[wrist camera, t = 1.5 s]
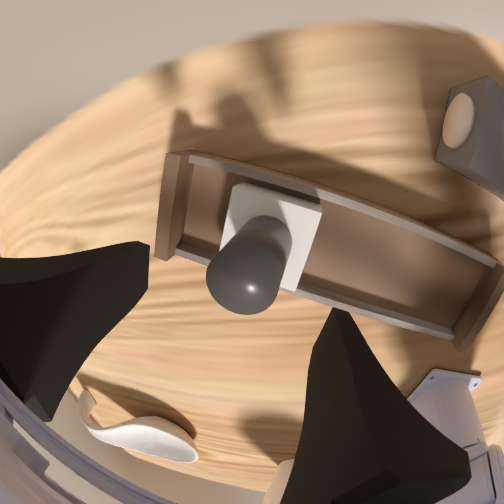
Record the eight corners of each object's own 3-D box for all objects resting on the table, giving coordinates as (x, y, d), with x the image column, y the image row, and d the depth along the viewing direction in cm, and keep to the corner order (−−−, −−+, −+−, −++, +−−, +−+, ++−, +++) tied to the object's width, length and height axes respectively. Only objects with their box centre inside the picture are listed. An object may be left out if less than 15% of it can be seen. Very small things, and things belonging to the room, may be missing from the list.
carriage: (298, 276, 18) (282, 346, 12) (226, 253, 19) (179, 309, 12) (322, 205, 16) (321, 247, 10) (242, 181, 17) (192, 207, 10)
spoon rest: (196, 416, 31) (175, 458, 25) (211, 453, 35) (197, 487, 29) (77, 374, 37) (54, 399, 31) (103, 414, 41) (85, 438, 35)
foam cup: (324, 478, 32) (313, 543, 20) (269, 473, 34) (250, 536, 23) (335, 456, 28) (324, 536, 17) (269, 451, 31) (246, 529, 19)
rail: (451, 327, 18) (464, 352, 15) (177, 239, 21) (154, 256, 18) (491, 254, 15) (512, 273, 12) (191, 150, 18) (166, 153, 15)
